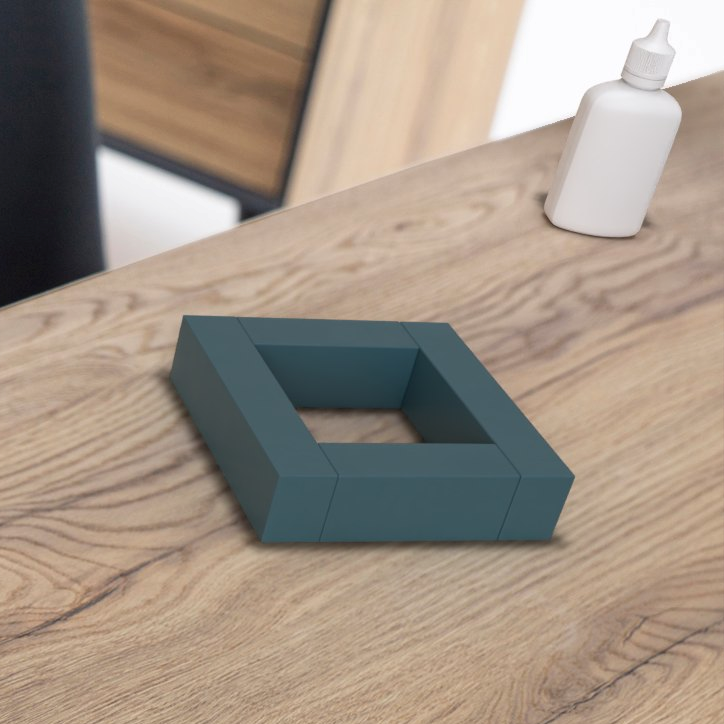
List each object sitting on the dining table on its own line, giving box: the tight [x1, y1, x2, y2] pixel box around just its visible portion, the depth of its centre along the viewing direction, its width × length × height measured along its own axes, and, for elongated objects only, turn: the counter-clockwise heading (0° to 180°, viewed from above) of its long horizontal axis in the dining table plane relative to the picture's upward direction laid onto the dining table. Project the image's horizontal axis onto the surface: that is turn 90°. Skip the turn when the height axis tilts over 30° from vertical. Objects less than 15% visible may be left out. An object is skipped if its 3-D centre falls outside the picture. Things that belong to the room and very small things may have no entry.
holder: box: [169, 314, 576, 543], centre depth 74 cm, size 13×13×4 cm
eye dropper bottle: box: [543, 18, 683, 238], centre depth 99 cm, size 4×6×12 cm
